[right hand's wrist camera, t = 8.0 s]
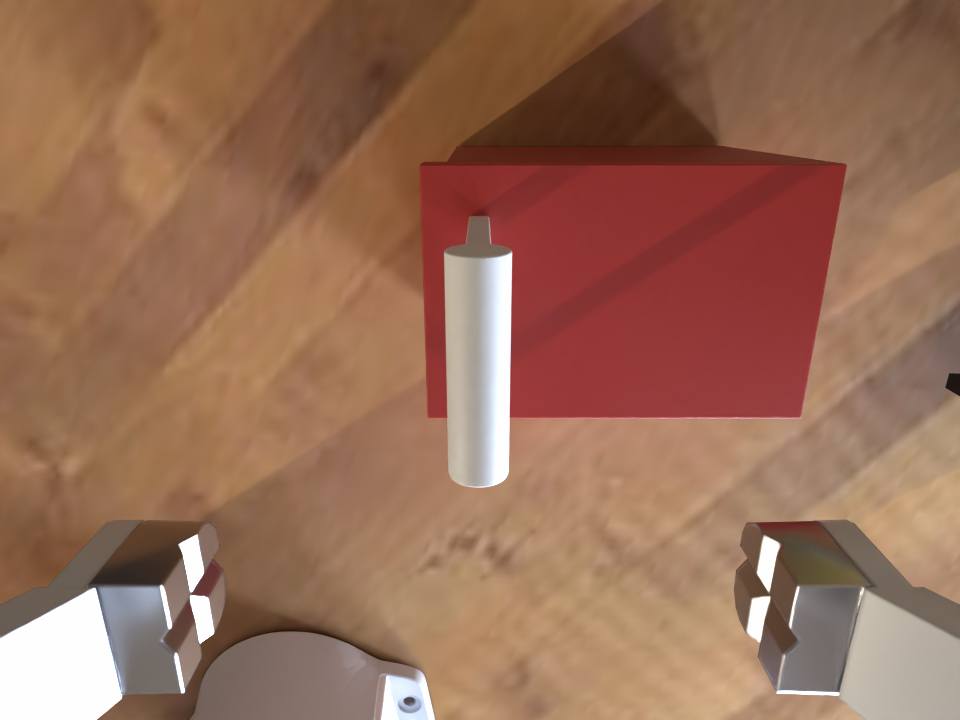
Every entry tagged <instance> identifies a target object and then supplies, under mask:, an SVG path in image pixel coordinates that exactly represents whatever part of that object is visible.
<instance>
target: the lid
mask: <svg viewBox="0 0 960 720" xmlns="http://www.w3.org/2000/svg"><path fill="white" fill-rule="evenodd" d="M846 167H847V165H846V164H842V163H835V162H423V163H422V164H421V165H420V193H421V225H422V257H423V289H424V321H425V353H426V385H427V417H428V418H447V423H448V472H449V475H450V477H451V478H452V480H454V481H455V482H457V483H459V484H461V485H464V486H469V487H488V486H493V485H496V484H498V483H500V482H502V481H503V480H505V478H506V477H507V475H508V473H509V418H801V414H802V408H803V403H804V397H805V392H806V386H807V381H808V375H809V370H810V364H811V359H812V353H813V348H814V342H815V337H816V331H817V326H818V320H819V315H820V309H821V304H822V298H823V293H824V287H825V282H826V277H827V271H828V266H829V260H830V255H831V249H832V244H833V238H834V233H835V227H836V222H837V216H838V211H839V205H840V200H841V194H842V189H843V183H844V178H845V172H846Z"/></svg>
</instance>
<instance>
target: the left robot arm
mask: <svg viewBox="0 0 960 720" xmlns="http://www.w3.org/2000/svg"><path fill="white" fill-rule="evenodd" d="M945 388H947V389H949V390H950V391H952V392H954V393H955V394H957V395H959V396H960V374H953V373H949V377H948V380H947V384H946V387H945Z"/></svg>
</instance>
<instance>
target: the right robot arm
mask: <svg viewBox="0 0 960 720" xmlns="http://www.w3.org/2000/svg"><path fill="white" fill-rule="evenodd" d="M219 546H220V544H219V539H218V534H217V529H216V527H215V526H214V525H213V524H212V523H211V522H208V521H160V520H147V521H144V520H114V521H111V522H107V523H106V524H105V525H104V526H103V527H102V528H101V529H100V530H99V531H98V532H97V533H96V534H95V535H94V537H93V538H92V539H91V540H90V541H89V542H88V543H87V544H86V545H85V546H84V547H83V549H82V550H81V551H80V552H79V553H78V554H77V555H76V556H75V557H74V558H73V559H72V560H71V562H70V563H69V564H68V565H67V566H66V567H65V568H64V569H63V570H62V571H61V572H60V573H59V575H58V576H57V577H56V578H55V579H54V580H53V581H52V582H51V583H50V584H49V585H48V586H47V587H36V588H34V589H32V590H30V591H27V592H25V593H23V594H21V595H19V596H17V597H15V598H13V599H11V600H9V601H7V602H5V603H3V604H1V605H0V720H96V719H97V718H99V717H100V716H101V715H102V714H103V713H105V712H106V711H107V710H108V709H109V708H111V707H112V706H113V705H114V704H115V703H117V702H118V701H119V700H120V699H122V695H135V694H169V693H184V691H185V689H186V687H187V685H188V683H189V681H190V679H191V677H192V675H193V673H194V671H195V670H196V668H197V666H198V664H199V662H200V660H201V658H202V652H201V646H200V643H201V642H203V641H204V640H205V639H207V638H208V637H210V636H211V635H213V634H214V632H215V630H216V628H217V626H218V624H219V622H220V620H221V617H222V613H223V608H224V604H225V599H226V582H225V575H224V570H223V569H222V568H221V567H220V566H219V565H218V564H217V563H216V562H215V561H214V560H213V559H212V558H213V556H214V555H215V553H216V551H217V550H218V548H219ZM740 546H741V548H742V550H743V551H744V553H745V555H746V556H747V558H748V559H747V560H746V561H745V562H744V563H743V564H742V565H741V566H740V567H739V568H738V569H737V570H736V576H735V584H734V594H735V605H736V610H737V613H738V616H739V620H740V622H741V624H742V626H743V628H744V630H745V632H746V634H747V635H749V636H750V637H752V638H753V639H755V640H756V641H757V642H759V643H760V647H759V652H758V658H759V660H760V662H761V664H762V666H763V668H764V669H765V671H766V673H767V675H768V677H769V679H770V681H771V683H772V685H773V687H774V689H775V691H776V693H789V694H825V695H838V698H839V699H840V700H841V701H842V702H844V703H845V704H846V705H847V706H848V707H850V708H851V709H852V710H853V711H855V712H856V713H857V714H858V715H859V716H861V717H862V718H863V719H864V720H960V605H959V604H957V603H955V602H953V601H951V600H949V599H947V598H945V597H943V596H941V595H939V594H937V593H935V592H933V591H930V590H928V589H926V588H924V587H913V586H912V585H911V584H910V583H909V582H908V581H907V580H906V579H905V578H904V577H903V576H902V575H901V573H900V572H899V571H898V570H897V569H896V568H895V567H894V566H893V565H892V564H891V563H890V561H889V560H888V559H887V558H886V557H885V556H884V555H883V554H882V553H881V552H880V551H879V550H878V548H877V547H876V546H875V545H874V544H873V543H872V542H871V541H870V540H869V539H868V538H867V537H866V535H865V534H864V533H863V532H862V531H861V530H860V529H859V528H858V527H857V526H856V525H855V524H854V523H852V522H850V521H848V520H820V521H801V522H749V523H747V524H746V526H745V528H744V530H743V532H742V538H741V544H740ZM410 697H412V698H410ZM189 720H435V718H434V714H433V709H432V705H431V701H430V696H429V692H428V687H427V683H426V679H425V676H424V675H423V673H422V672H421V671H419V670H418V669H416V668H414V667H411V666H408V665H403V664H399V663H394V662H388V661H382V660H379V659H377V658H374V657H372V656H370V655H368V654H367V653H365V652H363V651H361V650H359V649H358V648H356V647H354V646H352V645H350V644H348V643H345V642H343V641H340V640H338V639H335V638H332V637H328V636H324V635H320V634H315V633H308V632H295V631H288V632H274V633H268V634H263V635H259V636H255V637H252V638H249V639H246V640H244V641H242V642H240V643H238V644H236V645H234V646H232V647H230V648H229V649H227V650H226V651H225V652H223V653H222V654H221V655H220V656H219V657H218V658H217V659H216V660H215V661H214V662H213V663H212V664H211V665H210V667H209V668H208V670H207V671H206V673H205V675H204V677H203V679H202V682H201V685H200V690H199V695H198V700H197V704H196V708H195V712H194V715H193V716H192V717H191V718H190V719H189Z"/></svg>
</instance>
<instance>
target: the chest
mask: <svg viewBox="0 0 960 720" xmlns="http://www.w3.org/2000/svg"><path fill="white" fill-rule="evenodd" d="M447 162H826V161H820V160H814V159H807V158H800V157H793V156H786V155H779V154H772V153H765V152H759V151H752V150H745V149H738V148H731V147H725V146H457V147H456V149H455V151H454V152H453V154H452V155H451V157H450V158H449V160H448V161H447Z"/></svg>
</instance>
